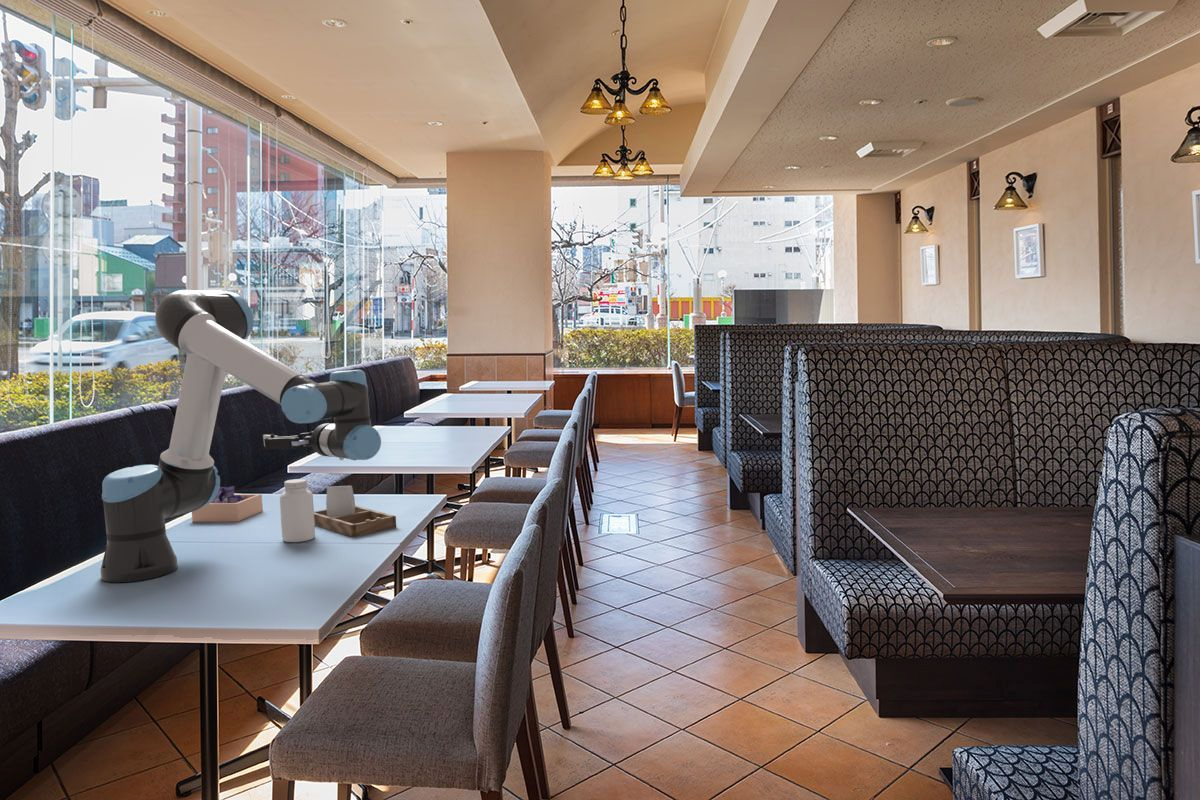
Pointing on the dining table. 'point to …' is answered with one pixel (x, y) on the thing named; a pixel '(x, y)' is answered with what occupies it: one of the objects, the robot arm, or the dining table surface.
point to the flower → (227, 496)
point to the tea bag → (340, 501)
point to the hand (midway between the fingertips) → (292, 436)
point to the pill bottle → (297, 512)
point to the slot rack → (356, 521)
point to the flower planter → (229, 510)
